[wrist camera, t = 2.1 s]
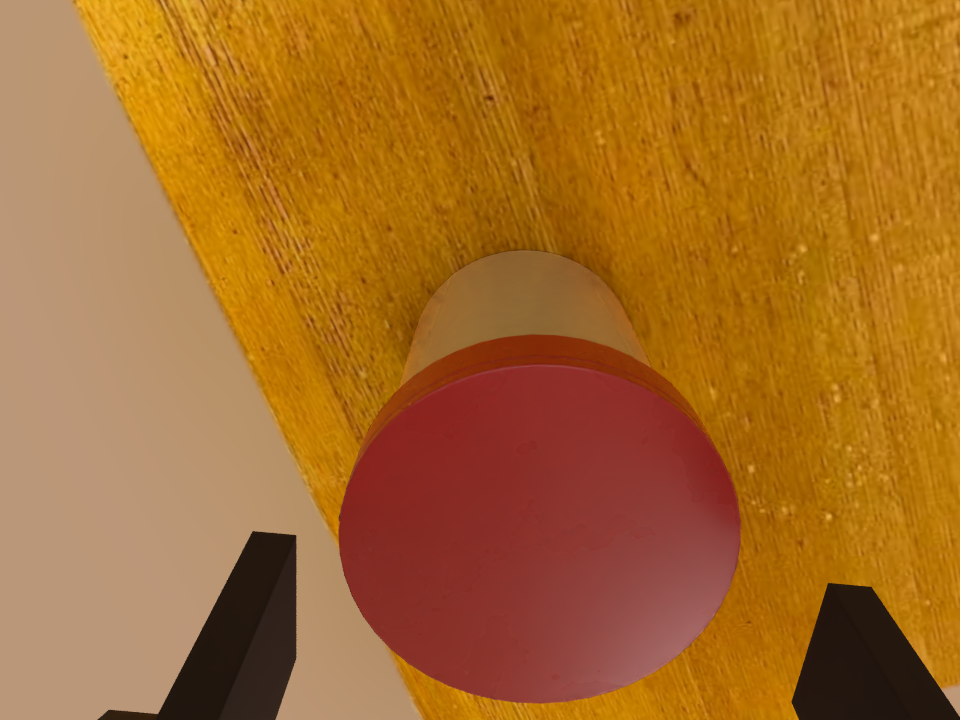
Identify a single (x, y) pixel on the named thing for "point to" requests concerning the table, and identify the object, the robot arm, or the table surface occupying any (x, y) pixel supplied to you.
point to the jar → (520, 307)
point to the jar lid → (538, 521)
